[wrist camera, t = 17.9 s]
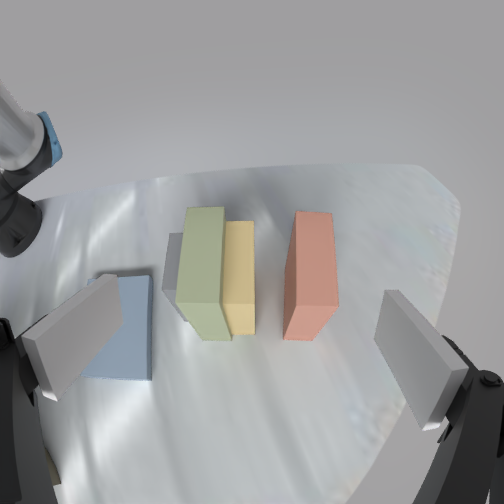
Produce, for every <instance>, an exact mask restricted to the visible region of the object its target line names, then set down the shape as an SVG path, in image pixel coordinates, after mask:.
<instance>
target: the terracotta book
mask: <svg viewBox="0 0 504 504" xmlns="http://www.w3.org/2000/svg"><path fill="white" fill-rule="evenodd" d="M338 307H339V301H338V282H337V267H336V254H335V242H334V231H333V221H332V213H319V212H303V211H296V213H295V218H294V224H293V229H292V235H291V240H290V246H289V251H288V256H287V262H286V267H285V294H284V329H283V340H306V341H312V340H313V339H314V338H315V337H316V335H317V334H318V333H319V331H320V330H321V329H322V328H323V326H324V325H325V324H326V323H327V321H328V320H329V319H330V317H331V316H332V315H333V313H334V312H335V311H336V309H337V308H338Z"/></svg>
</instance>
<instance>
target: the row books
mask: <svg viewBox="0 0 504 504" xmlns="http://www.w3.org/2000/svg"><path fill="white" fill-rule="evenodd" d="M175 303H176V305H177V306H178V307H179V309H180V310H181V312H182V313H183V314H184V316H185V317H186V319H187V320H188V321H189V323H190V324H191V325H192V327H193V328H194V329H195V331H196V332H197V334H198V335H199V336H200V338H201V339H202V340H211V341H232V335H255V289H254V221H226V217H225V209H224V207H190V208H187V211H186V218H185V225H184V232H183V239H182V247H181V255H180V263H179V271H178V280H177V289H176V299H175Z"/></svg>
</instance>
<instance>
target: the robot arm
mask: <svg viewBox="0 0 504 504" xmlns="http://www.w3.org/2000/svg"><path fill="white" fill-rule="evenodd" d="M61 157H62V149H61V146H60V144H59V141H58V139H57V136H56V133H55V131H54V128H53V126H52V123H51V121H50V118H49V116H48V114H47V113H46V112H41V113H38V114H34V113H32V112H26V111H25V112H24V111H23V109H21V107H20V106H19V105H18V103H17V102H16V100H15V99H14V98H13V96H12V95H11V94H10V92H9V91H8V90H7V89H6V87H5V86H4V84H3V83H2V81H1V80H0V253H1V254H2V255H4V256H5V257H15V256H17V255H19V254H20V253H22V252H23V251H24V250H25V249H26V248H27V247H28V246H29V245H30V244H31V243H32V241H33V240H34V238H35V237H36V235H37V233H38V231H39V228H40V225H41V221H42V213H41V210H40V209H39V207H38V206H37V205H36V204H35V203H34V202H33V201H31V200H30V199H28V198H26V197H24V196H22V195H21V194H19V193H18V192H17V191H18V190H20V189H21V188H22V187H23V186H25V185H26V184H27V183H29V182H30V181H31V180H33V179H34V178H35V177H37V176H38V175H39V174H41V173H42V172H44V171H45V170H46V169H48V168H51V167H52V166H53V165H54V164H55V163H56V162H57V161H59V160H60V159H61ZM122 324H123V316H122V310H121V303H120V295H119V287H118V279H117V275H115V274H103V275H102V276H100V277H99V278H97V279H96V280H95V281H93V282H92V283H90V284H89V285H88V286H86V287H85V288H83V289H82V290H81V291H79V292H78V293H76V294H75V295H74V296H72V297H71V298H70V299H68V300H67V301H66V302H64V303H63V304H62V305H60V306H59V307H58V308H56V309H55V310H54V311H52V312H51V313H50V314H47V315H45V316H44V317H42V318H41V319H40V320H38V322H36V323H35V324H33V325H32V327H29V328H28V329H27V330H26V331H24V332H23V333H22V334H21V335H19V336H18V337H17V338H16V339H14V336H13V333H12V330H11V326H10V323H9V320H7V319H6V318H0V504H58V502H57V499H56V495H55V492H54V488H53V485H52V481H51V477H50V473H49V469H48V464H47V460H46V455H45V450H44V444H43V439H42V433H41V426H40V419H39V411H38V401H37V395H36V393H35V390H34V389H35V388H36V387H37V386H38V385H39V386H40V389H41V391H42V393H43V395H44V396H45V397H47V398H50V399H52V400H55V401H59V400H60V398H61V397H62V396H63V395H64V393H65V392H66V391H67V390H68V388H69V387H70V386H71V385H72V383H73V382H74V381H75V380H76V379H77V377H78V376H79V375H80V374H81V372H82V371H83V370H84V369H85V368H86V366H87V365H88V364H89V363H90V362H91V360H92V359H93V358H94V357H95V356H96V355H97V353H98V352H99V351H100V350H101V349H102V348H103V346H104V345H105V344H106V343H107V342H108V341H109V339H110V338H111V337H112V336H113V335H114V334H115V332H116V331H117V330H118V329H119V328H120V327H121V326H122ZM374 340H375V342H376V344H377V346H378V347H379V349H380V351H381V353H382V355H383V356H384V358H385V360H386V362H387V364H388V366H389V368H390V369H391V371H392V373H393V375H394V377H395V379H396V381H397V383H398V385H399V387H400V388H401V390H402V392H403V394H404V396H405V398H406V400H407V402H408V404H409V406H410V408H411V410H412V412H413V414H414V416H415V418H416V420H417V422H418V424H419V426H420V428H421V431H424V430H429V429H434V428H438V427H439V426H440V424H441V422H442V421H443V419H444V417H445V416H446V417H447V419H448V421H449V424H448V425H447V427H446V429H445V430H444V432H443V434H442V435H441V437H440V438H439V440H438V442H437V443H440V445H439V447H438V450H437V452H436V455H435V458H434V460H433V462H432V465H431V467H430V469H429V472H428V473H427V476H426V478H425V480H424V482H423V484H422V486H421V488H420V490H419V492H418V494H417V496H416V498H415V500H414V502H413V504H485V503H486V499H487V496H488V492H489V489H490V499H489V504H504V383H503V381H502V379H501V378H500V377H499V376H498V375H497V374H495V373H493V372H491V371H486V370H481V371H479V370H478V369H477V368H476V367H475V366H474V365H473V363H472V362H471V361H470V360H469V359H468V358H467V357H466V355H463V352H462V351H461V350H460V349H459V348H458V346H457V345H456V344H455V343H454V342H453V341H452V340H450V339H449V338H447V337H445V336H443V335H440V334H439V333H438V332H437V330H436V329H435V328H434V327H433V326H432V325H431V324H430V323H429V322H428V321H427V319H426V318H425V317H424V316H423V315H422V314H421V313H420V312H419V311H418V310H417V309H416V308H415V307H414V306H413V305H412V304H411V303H410V301H409V300H408V299H407V298H406V297H405V296H404V295H403V294H402V293H401V292H400V291H399V290H385V291H384V296H383V301H382V306H381V310H380V315H379V319H378V324H377V328H376V332H375V336H374Z"/></svg>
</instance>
